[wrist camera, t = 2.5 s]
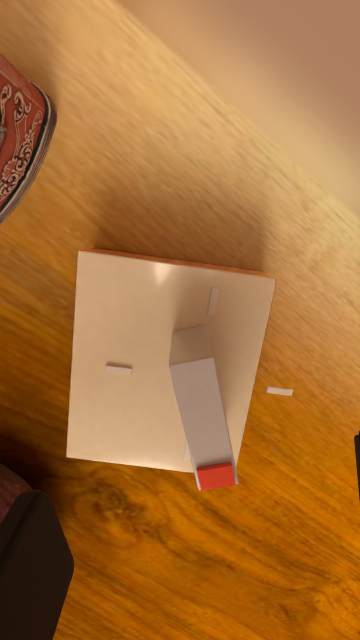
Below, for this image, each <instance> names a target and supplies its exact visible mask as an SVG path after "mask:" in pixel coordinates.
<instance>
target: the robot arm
mask: <svg viewBox="0 0 360 640" xmlns="http://www.w3.org/2000/svg"><path fill="white" fill-rule="evenodd" d="M354 442H355V453H356V464H357V476H358V487H359V499H360V431H359V435H356V436H355V437H354ZM73 571H74V560H73V557H72V554H71V551H70V549H69V546H68V544H67V541H66V538H65V536H64V533H63V531H62V528H61V525H60V523H59V520H58V517H57V515H56V512H55V510H54V507H53V504H52V502H51V499H50V497H49V495H48V494H47V493H44V492H43V491H42V490H41V489H36V490H30V491H25V492H21V493H20V494H19V495H18V496H17V498H16V499H15V501H14V502H13V504H12V506H11V507H10V509H9V511H8V512H7V514H6V515H5V517H4V519H3V520H2V522H1V524H0V640H53V636H54V633H55V630H56V627H57V623H58V620H59V617H60V614H61V611H62V607H63V604H64V601H65V598H66V594H67V591H68V588H69V585H70V581H71V578H72V575H73Z"/></svg>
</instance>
